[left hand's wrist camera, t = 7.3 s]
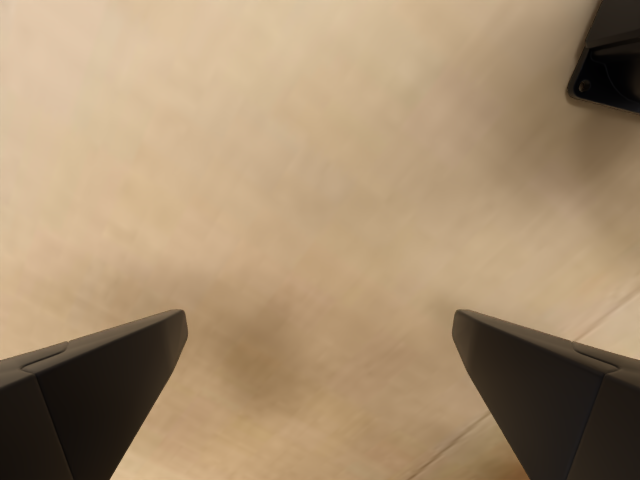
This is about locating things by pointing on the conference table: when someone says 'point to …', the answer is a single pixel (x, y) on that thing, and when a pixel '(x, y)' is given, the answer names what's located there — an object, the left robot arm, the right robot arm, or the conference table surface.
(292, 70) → the conference table surface
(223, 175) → the conference table surface
